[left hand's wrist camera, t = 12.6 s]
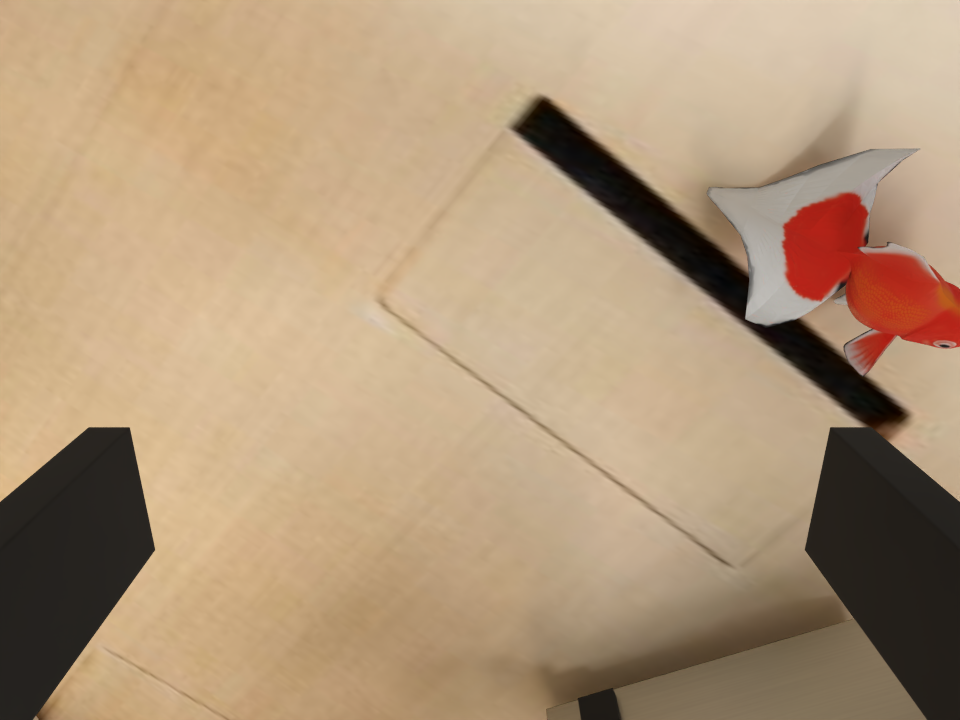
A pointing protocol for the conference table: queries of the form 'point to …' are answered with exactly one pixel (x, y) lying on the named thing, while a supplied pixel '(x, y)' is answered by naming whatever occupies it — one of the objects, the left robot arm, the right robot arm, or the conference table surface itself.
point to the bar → (774, 684)
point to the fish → (838, 257)
